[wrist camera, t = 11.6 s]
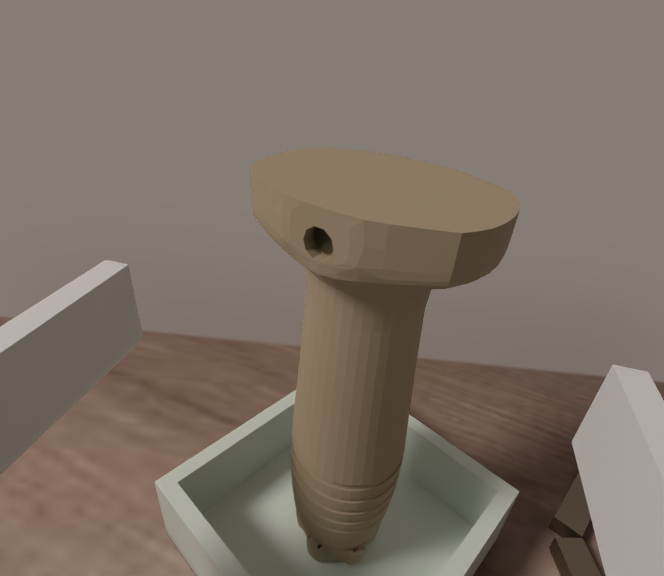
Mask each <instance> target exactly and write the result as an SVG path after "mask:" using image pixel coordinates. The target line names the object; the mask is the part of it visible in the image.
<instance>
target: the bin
mask: <svg viewBox="0 0 664 576" xmlns="http://www.w3.org/2000/svg"><path fill="white" fill-rule="evenodd" d="M295 397H296V390H295V391H293V392H292V393H290V394H289V395H287V396H286V397H284V398H283V399H281V400H280V401H278V402H277V403H275V404H273V405H272V406H270V407H269V408H267V409H266V410H264V411H263V412H261V413H260V414H258V415H257V416H255V417H253V418H252V419H250V420H249V421H247V422H246V423H244V424H243V425H241V426H240V427H238V428H237V429H235V430H234V431H232V432H230V433H229V434H227V435H226V436H224V437H223V438H221V439H220V440H218V441H217V442H215V443H214V444H212V445H210V446H209V447H207V448H206V449H204V450H203V451H201V452H200V453H198V454H197V455H195V456H194V457H192V458H191V459H189V460H187V461H186V462H184V463H183V464H181V465H180V466H178V467H177V468H175V469H174V470H172V471H171V472H169V473H167V474H166V475H164V476H163V477H161V478H160V479H158V480H157V481H155V486H156V490H157V494H158V498H159V502H160V506H161V511H162V515H163V519H164V523H165V527H166V531H167V534H168V535H169V537H170V538H171V540H172V541H173V543H174V544H175V546H176V547H177V548H178V550H179V551H180V553H181V554H182V556H183V557H184V559H185V560H186V562H187V563H188V564H189V566H190V567H191V569H192V570H193V572H194V573H195V575H196V576H473V575H474V574H475V572H476V570H477V569H478V567H479V566H480V564H481V563H482V561H483V560H484V558H485V557H486V555H487V553H488V552H489V550H490V549H491V547H492V546H493V544H494V543H495V541H496V539H497V537H498V535H499V533H500V531H501V529H502V527H503V525H504V523H505V521H506V519H507V516H508V514H509V512H510V510H511V508H512V506H513V504H514V502H515V500H516V498H517V496H518V494H519V491H518V490H517V489H515V488H514V487H512V486H511V485H509V484H508V483H507V482H505V481H504V480H502V479H501V478H499V477H498V476H497V475H495V474H494V473H492V472H491V471H489V470H488V469H487V468H485V467H484V466H482V465H481V464H479V463H478V462H477V461H475V460H474V459H472V458H471V457H469V456H468V455H466V454H465V453H464V452H462V451H461V450H459V449H458V448H456V447H455V446H454V445H452V444H451V443H449V442H448V441H446V440H445V439H444V438H442V437H441V436H439V435H438V434H436V433H435V432H434V431H432V430H431V429H429V428H428V427H426V426H425V425H424V424H422V423H421V422H419V421H418V420H416V419H415V418H414V417H412V416H411V415H409V419H408V427H407V435H406V442H405V450H404V454H403V460H402V464H401V469H400V473H399V477H398V481H397V484H396V487H395V490H394V493H393V496H392V499H391V502H390V504H389V507H388V509H387V511H386V513H385V515H384V518H383V519H382V521H381V523H380V527H379V530H378V532H377V534H376V536H375V537H374V539H373V540H371V541H369V542H368V543H367V544H366V546H365V547H366V548H365V551H364V554H363V556H362V558H361V560H360V561H359V562H357V563H356V564H353V565H349V564H347V563H346V562H343V561H340V560H325V561H324V562H318V561H316V560H315V559H313V558H312V557H311V556H310V554H309V553H308V550H307V541H306V540H307V537H306V535H305V533H304V531H303V529H302V528H300V526H299V525H298V521H297V516H296V506H295V501H294V495H293V487H292V475H291V431H292V422H293V414H294V405H295Z"/></svg>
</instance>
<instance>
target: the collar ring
mask: <svg viewBox="0 0 664 576" xmlns="http://www.w3.org/2000/svg"><path fill="white" fill-rule="evenodd" d="M590 519H591V516H590V512H589V508H588V504H587V501H586V497H585V493H584V489H583V485H582V481H581V477H580V473H579V472H578V474H577V475H576V477H575V479H574V481H573V483H572V485H571V486H570V488H569V490H568V492H567V494H566V495H565V497H564V499H563V501H562V503H561V504H560V506H559V508H558V510H557V512H556V514H555V515H554V517H553V519H552V521H551V523H550V524H549V526H548V527H549V528H550V529H552V530H553V531H555V532H556V533H557V534H559V535H560V536H562V537H563V538H558V537H555V538H554V540H553V542H552V543H551V545H550V547H549V549H550V551H551V554H552V556H553V558H554V561H555V563H556V565H557V568H558V570H559V572H560V575H561V576H601V574H600V572H599V570H598V568H597V566H596V564H595V562H594V560H593V558H592V556H591V554H590V552H589V550H588V548H587V546H586V544H585V542H584V540H583V538H582V536H583V534H584V532H585V530H586V528H587V526H588V524H589V521H590Z"/></svg>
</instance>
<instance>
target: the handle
mask: <svg viewBox="0 0 664 576" xmlns="http://www.w3.org/2000/svg"><path fill="white" fill-rule="evenodd" d="M250 179H251V202H252V210H253V214H254V216H255V218H256V219H257V220H258V222H259V223H260V224H261V226H262V227H263V228H264V229H265V231H266V232H267V233H268V234H269V235H270V236H271V237H272V239H273V240H274V241H275V242H276V243H277V244H278V245H279V246H280V247H281V248H282V249H283V250H284V251H285V252H287V253H288V254H289V255H290V256H291V257H292V258H294V259H295V260H296V261H297V262H299V263H300V264H301V265H303V266H304V267H305V273H306V274H305V275H306V301H305V311H304V321H303V331H302V342H301V352H300V363H299V371H298V380H297V388H296V397H295V405H294V414H293V422H292V431H291V475H292V487H293V495H294V501H295V506H296V516H297V521H298V525H299V526H300V528H302V529H303V531H304V533H305V535H306V537H307V540H306V541H307V550H308V553H309V554H310V556H311V557H312V558H313V559H315V560H316V561H318V562H324V561H325V560H340V561H343V562H346V563H347V564H349V565H353V564H356V563H357V562H359V561H360V560H361V558H362V556H363V554H364V551H365V548H366V547H365V546H366V544H367V543H368V542H369V541H371V540H373V539H374V537H375V536H376V534H377V532H378V530H379V527H380V523H381V521H382V519H383V518H384V515H385V513H386V511H387V509H388V507H389V504H390V502H391V499H392V496H393V493H394V490H395V487H396V484H397V481H398V477H399V473H400V469H401V464H402V460H403V454H404V450H405V442H406V435H407V427H408V419H409V412H410V404H411V396H412V389H413V381H414V374H415V368H416V362H417V355H418V349H419V343H420V335H421V330H422V324H423V317H424V311H425V307H426V304H427V301H428V298H429V294H430V292H431V289H446V288H451V287H455V286H459V285H463V284H467V283H470V282H473V281H475V280H477V279H479V278H481V277H483V276H485V275H487V274H489V273H490V272H491V271H492V270H493V269H494V268H496V267H497V266H498V264H499V263H500V261H501V259H502V258H503V256H504V254H505V252H506V250H507V248H508V244H509V242H510V239H511V236H512V233H513V230H514V227H515V223H516V220H517V217H518V213H519V210H520V202H519V200H518V199H517V197H516V196H515V195H514V194H513V193H512V192H511V191H509V190H506V189H504V188H501V187H499V186H497V185H494V184H492V183H490V182H487V181H485V180H482V179H480V178H477V177H475V176H472V175H469V174H467V173H464V172H461V171H458V170H455V169H451V168H447V167H443V166H440V165H435V164H431V163H427V162H422V161H418V160H414V159H410V158H405V157H399V156H395V155H390V154H382V153H375V152H366V151H358V150H349V149H339V148H330V147H325V148H324V147H323V148H306V149H297V150H291V151H286V152H282V153H278V154H274V155H271V156H268V157H265V158H263V159H261V160H259V161H257V162H256V163H255V164H254V165H253V166H252V167H251V169H250Z"/></svg>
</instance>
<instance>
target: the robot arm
mask: <svg viewBox="0 0 664 576" xmlns="http://www.w3.org/2000/svg"><path fill="white" fill-rule="evenodd" d="M142 339H143V334H142V329H141V324H140V319H139V314H138V310H137V305H136V300H135V295H134V290H133V285H132V280H131V275H130V270H129V265H128V264H123V263H118V262H113V261H108V260H105V261H103V262H102V263H100V264H99V265H97V266H96V267H94V268H92V269H91V270H89V271H88V272H86V273H84V274H83V275H81V276H80V277H78V278H77V279H75V280H73V281H72V282H70V283H69V284H67V285H66V286H64V287H62V288H61V289H59V290H58V291H56V292H54V293H53V294H51V295H50V296H48V297H47V298H45V299H43V300H42V301H40V302H39V303H37V304H36V305H34V306H33V307H31V308H29V309H28V310H26V311H25V312H23V313H21V314H20V315H18V316H17V317H15V318H13V319H12V320H10V321H9V322H7V323H6V324H4V325H2V326H1V327H0V475H1V474H2V473H3V472H4V471H5V470H6V469H7V468H8V467H9V466H10V465H11V464H12V463H13V462H14V461H15V460H16V459H17V458H18V457H19V456H21V455H22V454H23V453H24V452H25V451H26V450H27V449H28V448H29V447H30V446H31V445H32V444H33V443H34V442H35V441H36V440H37V439H38V438H39V437H41V436H42V435H43V434H44V433H45V432H46V431H47V430H48V429H49V428H50V427H51V426H52V425H53V424H54V423H55V422H56V421H57V420H58V419H59V418H60V417H62V416H63V415H64V414H65V413H66V412H67V411H68V410H69V409H70V408H71V407H72V406H73V405H74V404H75V403H76V402H77V401H78V400H79V399H80V398H82V397H83V396H84V395H85V394H86V393H87V392H88V391H89V390H90V389H91V388H92V387H93V386H94V385H95V384H96V383H97V382H98V381H99V380H100V379H101V378H103V377H104V376H105V375H106V374H107V373H108V372H109V371H110V370H111V369H112V368H113V367H114V366H115V365H116V364H117V363H118V362H119V361H120V360H121V359H123V358H124V357H125V356H126V355H127V354H128V353H129V352H130V351H131V350H132V349H133V348H134V347H135V346H136V345H137V344H138V343H139V342H140V341H141V340H142ZM572 446H573V450H574V454H575V457H576V461H577V465H578V469H579V473H580V477H581V481H582V485H583V489H584V493H585V497H586V501H587V504H588V508H589V512H590V516H591V520H592V524H593V528H594V532H595V536H596V540H597V544H598V548H599V551H600V555H601V559H602V563H603V567H604V571H605V575H606V576H664V401H663V399H662V397H661V395H660V393H659V391H658V389H657V387H656V386H655V384H654V382H653V380H652V378H651V376H650V374H649V372H646V371H641V370H636V369H631V368H627V367H622V366H617V365H612V367H611V369H610V371H609V373H608V375H607V376H606V378H605V380H604V382H603V384H602V386H601V388H600V389H599V391H598V393H597V395H596V397H595V399H594V401H593V403H592V404H591V406H590V408H589V410H588V412H587V414H586V416H585V417H584V419H583V421H582V423H581V425H580V427H579V429H578V430H577V432H576V434H575V436H574V438H573V440H572Z"/></svg>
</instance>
